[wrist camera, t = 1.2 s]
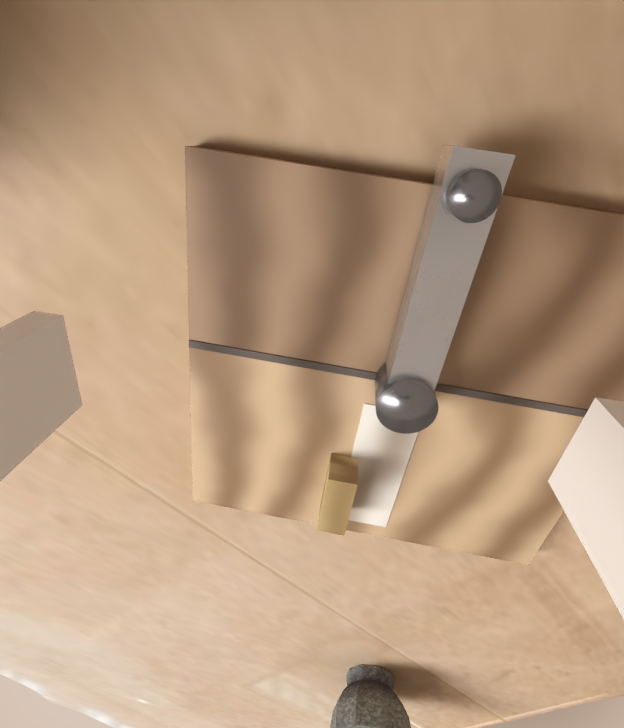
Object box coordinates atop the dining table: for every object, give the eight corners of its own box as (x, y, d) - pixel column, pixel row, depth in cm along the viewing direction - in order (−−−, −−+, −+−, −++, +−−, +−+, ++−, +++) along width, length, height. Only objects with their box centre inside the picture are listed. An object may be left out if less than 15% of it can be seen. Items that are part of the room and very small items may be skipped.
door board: (198, 488, 39) (179, 526, 35) (195, 146, 24) (162, 146, 20) (522, 549, 38) (540, 596, 34) (723, 229, 23) (797, 246, 19)
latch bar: (422, 408, 30) (429, 442, 26) (369, 399, 30) (370, 431, 27) (507, 155, 21) (534, 157, 18) (433, 143, 22) (446, 143, 18)
